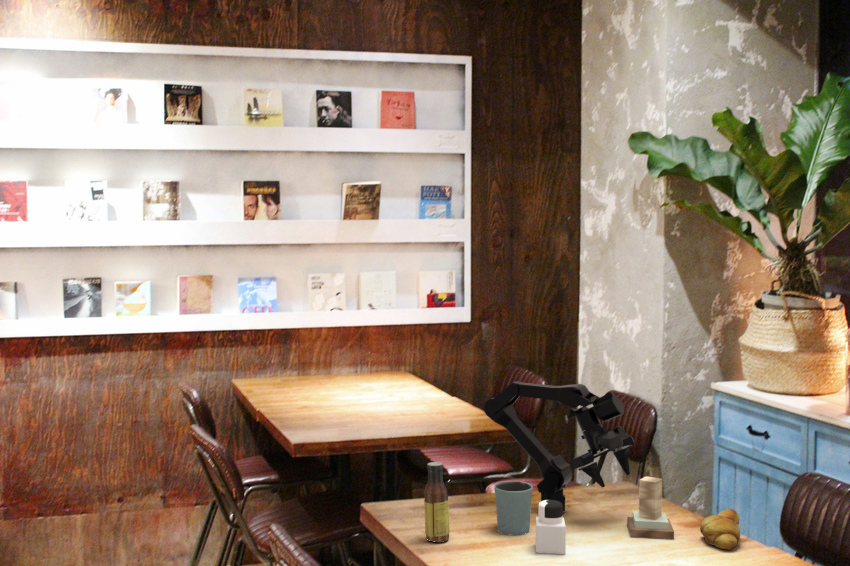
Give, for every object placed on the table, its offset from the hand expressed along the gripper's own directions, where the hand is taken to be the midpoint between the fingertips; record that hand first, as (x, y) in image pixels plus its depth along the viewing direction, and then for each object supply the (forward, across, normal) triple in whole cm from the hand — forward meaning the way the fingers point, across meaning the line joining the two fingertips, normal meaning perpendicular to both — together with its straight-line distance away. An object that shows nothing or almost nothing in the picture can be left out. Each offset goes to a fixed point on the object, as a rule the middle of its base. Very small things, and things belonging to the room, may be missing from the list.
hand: (616, 480), depth 239 cm
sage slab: (+13, +1, -5) cm, 14 cm away
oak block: (+12, +1, -6) cm, 13 cm away
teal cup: (+1, -30, +10) cm, 32 cm away
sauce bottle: (-5, -51, +11) cm, 53 cm away
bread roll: (+24, +9, -17) cm, 31 cm away
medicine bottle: (+7, -30, -5) cm, 32 cm away
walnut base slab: (+15, 0, -4) cm, 16 cm away
